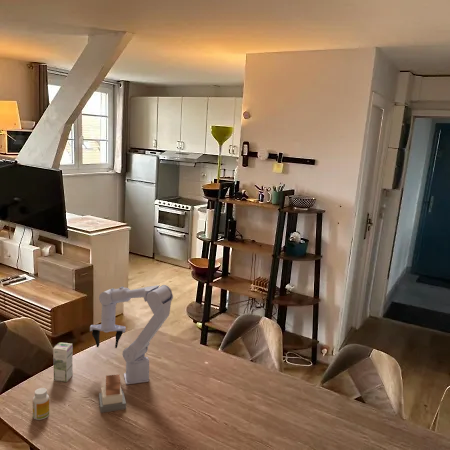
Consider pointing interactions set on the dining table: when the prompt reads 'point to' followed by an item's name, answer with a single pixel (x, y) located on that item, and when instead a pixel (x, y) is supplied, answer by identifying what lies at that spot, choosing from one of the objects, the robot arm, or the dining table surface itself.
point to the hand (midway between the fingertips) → (107, 346)
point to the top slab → (110, 397)
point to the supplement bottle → (40, 404)
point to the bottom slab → (112, 405)
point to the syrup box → (63, 361)
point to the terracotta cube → (112, 384)
